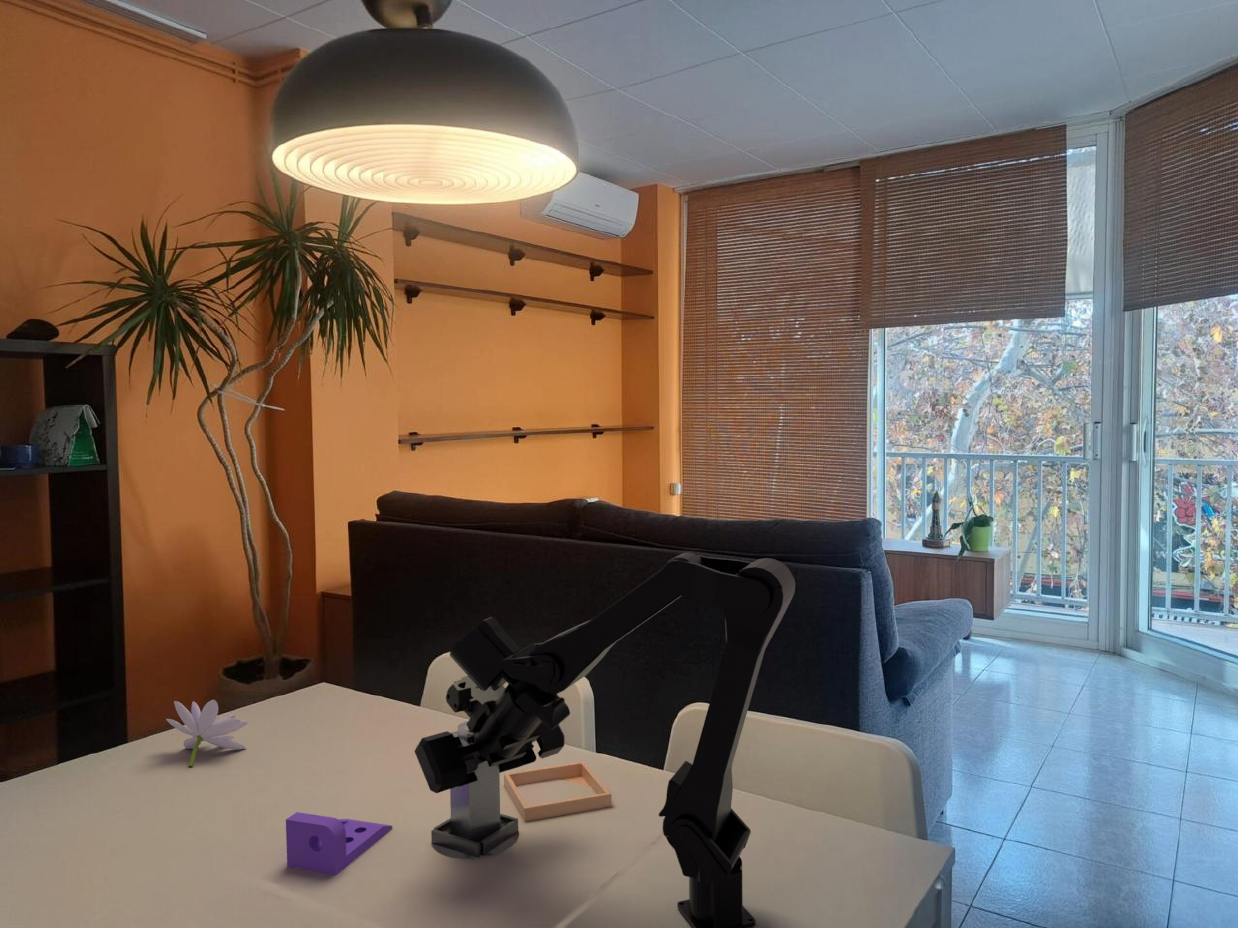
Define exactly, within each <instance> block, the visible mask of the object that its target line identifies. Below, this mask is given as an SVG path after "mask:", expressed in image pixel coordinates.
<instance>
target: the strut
mask: <svg viewBox="0 0 1238 928" xmlns="http://www.w3.org/2000/svg"><path fill="white" fill-rule="evenodd" d="M468 721H469V720H466V721H463V722H461V723H459V724H458V725H457V730H456V731H452V732H451V733H452V734H453V736H454V737H457V736H459V738H460V740H461V743H462V745H463V746H468V743H467V741H466V740H467V738H468V737H471V736H474V735H475V734H474V732H472V733H470V731H469V729H468V727H467V722H468ZM475 774H476V777H477V779H478V781H475V782H472V783H469V784H466V785H463V786H460V787H455V788H451V789H449V793H450V795H449V798H450V801H449V802H450V818H451V834H453V835H455V836H458V837H461V838H465V839H468V840H471V841H474V842H478V843H479V842H481V841H482V840H484V839H485V838H487V837H489V836H490V835H492V834H493V833H495V832H496V831H498V830H499V829H500V814H501V792H500V791H501V788H500V786H501V785H500V783H501V782H500V780H501V779H500V774H501V773H499V764H498V765H495V766H492V767H489V765H488V762H485V763H482V764H478V769H477V770H476V771H475Z"/></svg>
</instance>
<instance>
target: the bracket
mask: <svg viewBox="0 0 1238 928" xmlns="http://www.w3.org/2000/svg"><path fill="white" fill-rule="evenodd" d="M285 830H286V831H285V834H286V835H285V837H286V839H285V840H286V843H285V844H286V866H287V868H293V869H294V868H295V869H298V870H299V869H301V870H307V871H311V872H317V873H323V874H329V875H333V876H337V875H338V874H339V873H341V872H342V871H343V870H344V869H345V868H347V867H348V866H349V865H350V864H351V863H353V862H354V861H355V860H356V859H357V858H359V857H360V856H361V855H362V854H364V853H365V852H366V851H368V850H369V849H370V848H371V847H372V846H373V845H374V844H376V843H377V842H378V841H379V840H381V839H382V838H383V837H384V836H386V835H387V834H388V833H389V832H390V831H392V830H393V825H390V824H383V823H377V822H370V821H364V820H357V819H351V818H339V819H338V818H336V817H333V816H324V815H319V814H311V813H305V812H298V811H297V812H295V813H294V814H292V815H290V816H289V817H287V818H286V819H285Z"/></svg>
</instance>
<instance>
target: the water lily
mask: <svg viewBox="0 0 1238 928" xmlns="http://www.w3.org/2000/svg"><path fill="white" fill-rule="evenodd" d="M173 703H174V707H175V710H176V712H177V714H178V716H179V717H180V719H181V721H182V722H183V724H184V725H185V726H184V725H183V724H181V723H180V722H178V721H177V720H174V719H171V718H166V719H165V720H166V721H167V722H168V723H169V724H170V725H171V726H172V727H174V728H175V729H176V730H178V731H180V732H181V733H183V734H185V735H188V736H191V737H190V738H186V739H184V740H183V746H184V748H185V749H188V750H192V749H193V750H192V752H191V756H190V760H189V763H188V768H189V767H190V768H191V766H193V767H194V765H195V764H194V763H195V759H196V754H197V752H198V749H199V746H200V745H201V744H202V742H207V743H208V744H210V745H214V746H216V747H219V748H224V749H228V750H242V749H243V750H247V747H246V746H245V745H244V744H243V743H240V742H238V741H235V740H232V739H234V738H235V736H234V735H229V734H232V733H234V732H236V731H239V730H240V729H242V728H244V727H246V726H248V724H249V722H248V721H247V720H241V719H238V718H236V714H230V715H227V716H224V717H222V718H219V719H218V720H217V721H216V719H217V716H218V714H219V704H218V702H217V700H215V699H211V700H209V701H208V702H207V703H206V704H205V705H204V706H203V707H202V710H201V709H200V707H199V705H198V703H197V702H195V701H194V700H193V701H192V703H191V708H190V709H191V710H190V711H189V710H188V709H187V708H186V706H184V705H183V703H181V702H180V701H178V700H177V701H176V700H174V701H173Z"/></svg>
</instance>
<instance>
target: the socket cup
mask: <svg viewBox="0 0 1238 928" xmlns="http://www.w3.org/2000/svg"><path fill="white" fill-rule="evenodd" d="M519 831H520V830H519V818H516V817H514V816H511V815H508V814H507V815H506V814H503V813H500V829H499V830H498V831H496V832H495V833H493V834H492V835H490V836H489V837H487V838H485V839H484V840H482V841H481V842H479V843H478V842H474V841H471V840H468V839H465V838H461V837H458V836H455V835H453V834H451V817H449V818H448V819H446V820H445V821H443V822H441V823H439V824H438V825H437V826H435V827H433V829H431V834H430V835H431V837H430V838H431V842H430V843H431V846H432V848H433V849H434V851H436V852H437V853H438V854H440V855H442V856H445V857H448V858H454V859H458V860H474V859H475V860H476V859H483V858H487V857H493V856H496V855H499V854H501V853H503V852H505V851H507V850H508V849H510V848H512V847H513V846H514V845H515V844H516V843H517V841H518V839H519V837H520V832H519Z"/></svg>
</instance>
